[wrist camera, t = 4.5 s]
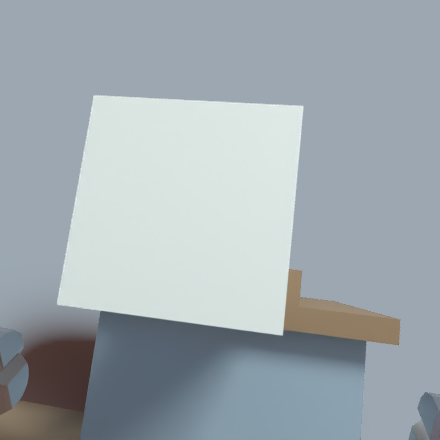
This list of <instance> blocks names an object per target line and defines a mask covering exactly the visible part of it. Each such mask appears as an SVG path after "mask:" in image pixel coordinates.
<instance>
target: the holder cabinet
mask: <svg viewBox="0 0 440 440" xmlns="http://www.w3.org/2000/svg"><path fill="white" fill-rule="evenodd" d="M301 276H302V271H299V270H291V269H289V272H288V284H287V295H286V306H285V317H284V328H283V336H282V335H274V334H267V333H260V332H253V331H245V330H238V329H231V328H224V327H216V326H209V325H202V324H195V323H187V322H180V321H173V320H166V319H158V318H151V317H144V316H137V315H129V314H122V313H115V312H108V311H101V312H100V318H99V324H98V331H97V337H96V344H95V350H94V355H93V362H92V368H91V374H90V381H89V387H88V393H87V399H86V405H85V412H84V418H83V424H82V430H81V436H80V440H361V424H362V407H363V389H364V372H365V355H366V341H372V342H379V343H386V344H393V345H399V331H400V320H399V319H396V318H392V317H389V316H385V315H382V314H378V313H374V312H371V311H367V310H364V309H360V308H356V307H353V306H349V305H346V304H342V303H338V302H335V301H328V300H319V299H311V298H303V297H300V288H301Z"/></svg>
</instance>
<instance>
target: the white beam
mask: <svg viewBox="0 0 440 440" xmlns="http://www.w3.org/2000/svg"><path fill="white" fill-rule="evenodd" d="M302 117H303V106H292V105H273V104H252V103H234V102H214V101H195V100H194V101H193V100H175V99H156V98H155V99H154V98H136V97H117V96H98V95H97V96H96V95H94V98H93V104H92V109H91V115H90V120H89V126H88V132H87V137H86V143H85V149H84V154H83V160H82V165H81V171H80V177H79V182H78V188H77V194H76V200H75V205H74V210H73V216H72V222H71V228H70V233H69V239H68V244H67V250H66V255H65V261H64V267H63V273H62V278H61V284H60V289H59V295H58V301H57V305H64V306H72V307H79V308H86V309H93V310H100V311H108V312H115V313H122V314H129V315H137V316H144V317H151V318H158V319H166V320H173V321H180V322H187V323H195V324H202V325H209V326H216V327H224V328H231V329H238V330H245V331H253V332H260V333H267V334H274V335H282V336H283V328H284V317H285V306H286V295H287V284H288V272H289V260H290V250H291V239H292V228H293V216H294V206H295V194H296V183H297V171H298V161H299V150H300V139H301V128H302Z"/></svg>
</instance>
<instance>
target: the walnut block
mask: <svg viewBox="0 0 440 440" xmlns="http://www.w3.org/2000/svg"><path fill="white" fill-rule="evenodd" d="M83 418H84V412H80V411H74V410H69V409H63V408H58V407H52V406H47V405H41V404H36V403H30V402H24V401H18V402H17V403H16V405H15V406H14V407H13V408H12V409H11V410H9V411H7V412H5V413H4V414H2V415H0V440H80V436H81V430H82V424H83Z"/></svg>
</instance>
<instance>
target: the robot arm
mask: <svg viewBox="0 0 440 440" xmlns="http://www.w3.org/2000/svg"><path fill="white" fill-rule="evenodd" d="M23 347H24V343H23V339H22V335H21V333H20V332H18V331H15V330H12V329H6V328H0V415H2V414H4V413H5V412H7V411H9V410H11V409H12V408H13V407H14V406H15V405H16V403H17V402H18V401H19V400H20V398H21V397H22V394H23V392H24V390H25V388H26V385H27V383H28V374H29V371H28V365H27V362H26V361H25V359H24V358H23V357H22V356H21V355H20V354H19V353H20V351H21V350H22V348H23ZM418 411H419V413H420V416H421V418H422V420H421V421H419V422H417V423H416V424H414V425H413V426H412V429H411V433H410V436H409V440H440V394H434V393H428V392H425V393H424V395H423V396H422V397H421V399H420V402H419V405H418Z"/></svg>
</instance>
